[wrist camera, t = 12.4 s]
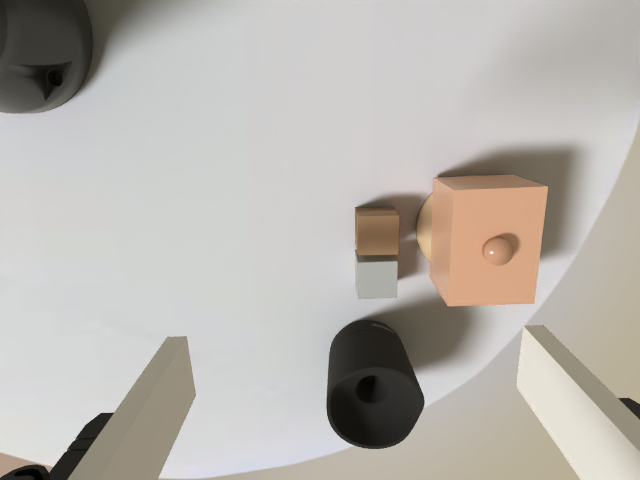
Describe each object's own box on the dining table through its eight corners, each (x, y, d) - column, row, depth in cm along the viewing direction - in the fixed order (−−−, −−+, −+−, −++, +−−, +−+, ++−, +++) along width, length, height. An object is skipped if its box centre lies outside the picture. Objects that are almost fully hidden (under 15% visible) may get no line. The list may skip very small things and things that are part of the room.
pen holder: (419, 364, 49) (441, 425, 40) (350, 396, 51) (355, 462, 41) (383, 302, 47) (397, 351, 37) (311, 338, 48) (308, 393, 39)
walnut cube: (355, 207, 44) (358, 216, 40) (392, 206, 44) (399, 215, 40) (355, 243, 45) (358, 255, 41) (391, 242, 45) (398, 254, 41)
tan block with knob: (433, 177, 42) (457, 192, 34) (512, 174, 42) (554, 188, 34) (429, 277, 45) (450, 311, 38) (503, 274, 45) (539, 308, 37)
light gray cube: (354, 250, 45) (357, 262, 41) (391, 248, 45) (397, 261, 41) (355, 283, 46) (358, 298, 43) (391, 282, 46) (397, 297, 42)
